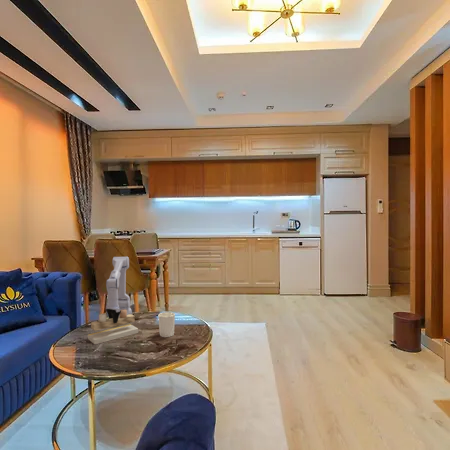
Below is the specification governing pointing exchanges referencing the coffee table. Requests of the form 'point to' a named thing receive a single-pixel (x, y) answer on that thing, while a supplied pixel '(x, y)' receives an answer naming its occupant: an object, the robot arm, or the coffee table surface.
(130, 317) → the beige long bar
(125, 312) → the cylinder
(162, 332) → the candle holder
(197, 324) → the coffee table surface
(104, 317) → the taupe tapered cylinder
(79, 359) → the coffee table surface
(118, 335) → the dock
